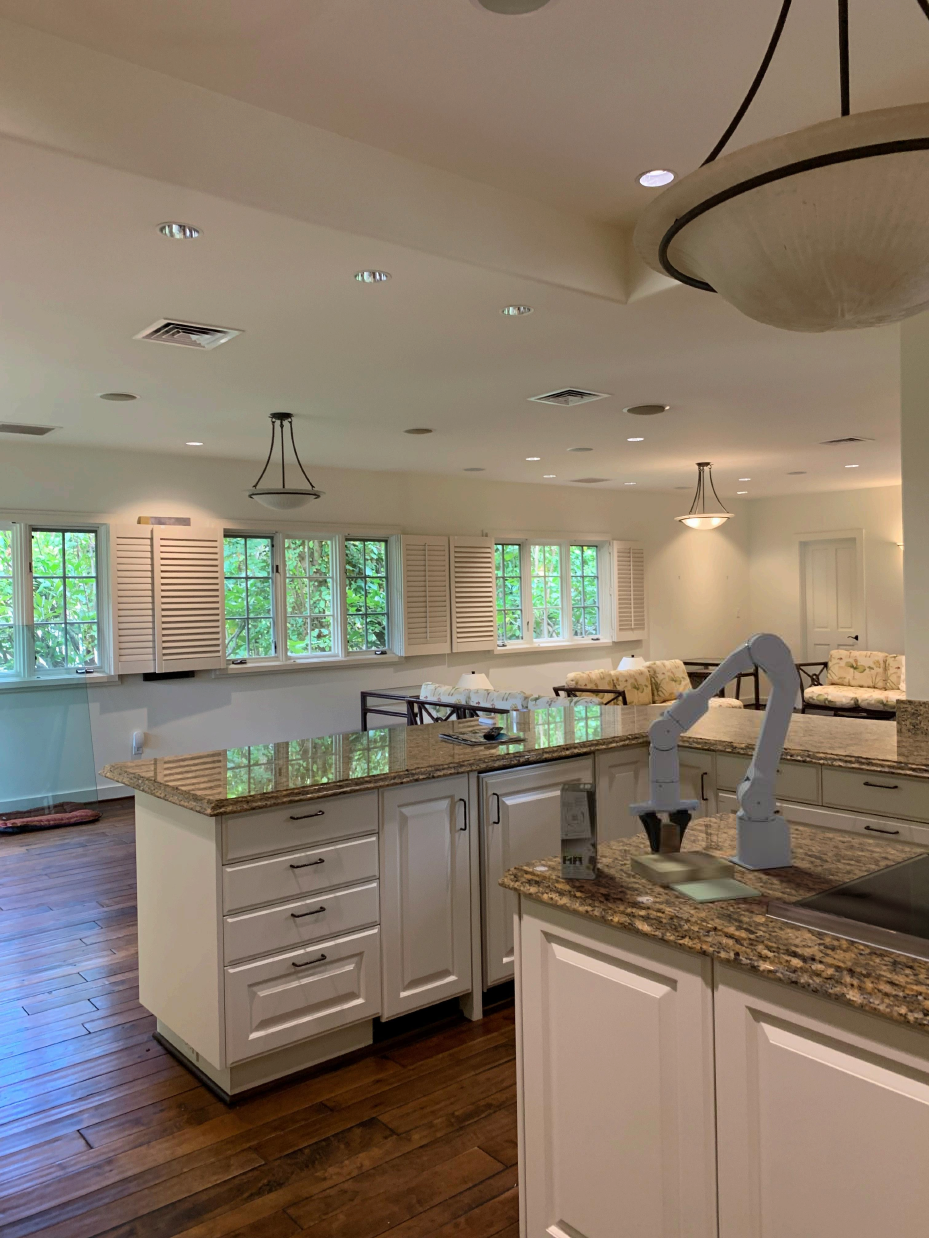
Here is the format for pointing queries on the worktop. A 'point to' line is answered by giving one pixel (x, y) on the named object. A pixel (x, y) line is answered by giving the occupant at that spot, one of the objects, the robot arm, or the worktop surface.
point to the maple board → (681, 867)
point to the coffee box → (578, 831)
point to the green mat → (714, 889)
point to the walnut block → (668, 838)
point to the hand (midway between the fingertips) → (665, 850)
